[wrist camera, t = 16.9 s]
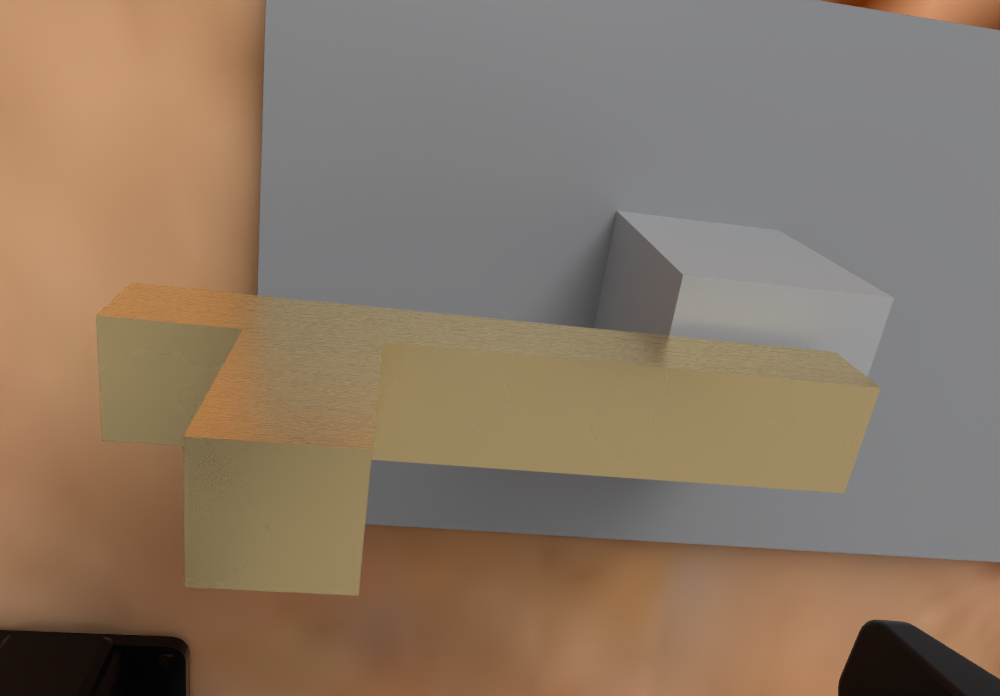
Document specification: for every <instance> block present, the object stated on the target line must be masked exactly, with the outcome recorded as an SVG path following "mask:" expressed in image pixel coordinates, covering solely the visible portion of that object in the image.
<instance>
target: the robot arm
mask: <svg viewBox="0 0 1000 696" xmlns="http://www.w3.org/2000/svg"><path fill="white" fill-rule="evenodd" d="M164 654H171V655H173V656H174V657H167V656H166V655H164ZM0 696H190V658H189V648H188V645H187V644H186V643H185V642H184V641H183V640H181V639H179V638H175V637H165V636H139V635H113V634H88V633H62V632H36V631H10V630H0ZM838 696H1000V679H999V678H997V677H995V676H994V675H992V674H991V673H989V672H987V671H986V670H984V669H983V668H981V667H979V666H978V665H976V664H975V663H973V662H971V661H970V660H968V659H966V658H965V657H963V656H962V655H960V654H958V653H957V652H955V651H954V650H952V649H950V648H949V647H947V646H946V645H944V644H942V643H941V642H939V641H938V640H936V639H934V638H933V637H931V636H930V635H928V634H926V633H925V632H923V631H922V630H920V629H918V628H917V627H915V626H913V625H911V624H909V623H906V622H900V621H888V620H871V621H868V622H867V623H866V624H865V625H864V626H862V628H861V630H860V631H859V634H858V636H857V639H856V641H855V643H854V646H853V648H852V650H851V653H850V655H849V658H848V660H847V662H846V665H845V667H844V669H843V672H842V674H841V677H840V680H839V686H838Z"/></svg>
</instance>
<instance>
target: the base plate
mask: <svg viewBox="0 0 1000 696" xmlns="http://www.w3.org/2000/svg"><path fill="white" fill-rule="evenodd" d="M258 295H260V296H270V297H280V298H290V299H300V300H311V301H321V302H331V303H341V304H351V305H362V306H372V307H382V308H392V309H402V310H412V311H423V312H433V313H443V314H453V315H463V316H473V317H484V318H494V319H504V320H514V321H524V322H535V323H545V324H555V325H565V326H575V327H585V328H596V329H606V330H616V331H626V332H636V333H647V334H657V335H667V336H677V337H687V338H697V339H708V340H718V341H728V342H738V343H748V344H759V345H769V346H779V347H789V348H799V349H809V350H820V351H830V352H836V353H838V354H839V355H840V356H841V357H843V358H844V359H845V360H846V361H848V362H849V363H850V364H851V365H853V366H854V367H855V368H857V369H858V370H859V371H860V372H862V373H863V374H864V375H865V376H867V377H868V378H869V379H870V380H872V381H873V382H874V383H875V384H877V385H878V386H879V387H880V388H881V389H880V391H879V394H878V397H877V400H876V403H875V406H874V409H873V412H872V415H871V417H870V420H869V423H868V426H867V429H866V432H865V435H864V438H863V441H862V443H861V446H860V449H859V452H858V455H857V458H856V461H855V464H854V467H853V469H852V472H851V475H850V478H849V481H848V484H847V487H846V490H845V493H831V492H817V491H803V490H789V489H775V488H761V487H747V486H733V485H719V484H705V483H691V482H677V481H663V480H649V479H635V478H621V477H607V476H593V475H579V474H565V473H551V472H537V471H523V470H509V469H495V468H481V467H467V466H453V465H439V464H425V463H411V462H397V461H382V460H372V465H371V475H370V485H369V495H368V505H367V515H366V524H369V525H386V526H403V527H419V528H436V529H453V530H469V531H486V532H503V533H519V534H536V535H553V536H569V537H586V538H603V539H619V540H636V541H653V542H670V543H686V544H703V545H720V546H736V547H753V548H770V549H786V550H803V551H820V552H836V553H853V554H870V555H886V556H903V557H920V558H936V559H953V560H970V561H987V562H1000V30H994V29H988V28H982V27H976V26H970V25H964V24H958V23H952V22H946V21H940V20H934V19H928V18H922V17H916V16H910V15H904V14H897V13H891V12H885V11H879V10H873V9H867V8H861V7H855V6H849V5H843V4H837V3H831V2H825V1H819V0H266V17H265V52H264V86H263V121H262V156H261V191H260V225H259V260H258Z"/></svg>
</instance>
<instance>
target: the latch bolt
mask: <svg viewBox="0 0 1000 696" xmlns="http://www.w3.org/2000/svg"><path fill="white" fill-rule="evenodd" d="M96 323H97V343H98V363H99V383H100V403H101V423H102V441H116V442H130V443H144V444H158V445H172V446H184V559H185V587H187V588H208V589H229V590H250V591H271V592H293V593H314V594H335V595H356V596H359V585H360V575H361V565H362V555H363V545H364V535H365V525H366V515H367V505H368V495H369V485H370V475H371V465H372V460H382V461H397V462H411V463H425V464H439V465H453V466H467V467H481V468H495V469H509V470H523V471H537V472H551V473H565V474H579V475H593V476H607V477H621V478H635V479H649V480H663V481H677V482H691V483H705V484H719V485H733V486H747V487H761V488H775V489H789V490H803V491H817V492H831V493H845V490H846V487H847V484H848V481H849V478H850V475H851V472H852V469H853V467H854V464H855V461H856V458H857V455H858V452H859V449H860V446H861V443H862V441H863V438H864V435H865V432H866V429H867V426H868V423H869V420H870V417H871V415H872V412H873V409H874V406H875V403H876V400H877V397H878V394H879V391H880V389H881V388H880V387H879V386H878V385H877V384H875V383H874V382H873V381H872V380H870V379H869V378H868V377H867V376H865V375H864V374H863V373H862V372H860V371H859V370H858V369H857V368H855V367H854V366H853V365H851V364H850V363H849V362H848V361H846V360H845V359H844V358H843V357H841V356H840V355H839V354H838V353H836V352H830V351H820V350H809V349H799V348H789V347H779V346H769V345H759V344H748V343H738V342H728V341H718V340H708V339H697V338H687V337H677V336H667V335H657V334H647V333H636V332H626V331H616V330H606V329H596V328H585V327H575V326H565V325H555V324H545V323H535V322H524V321H514V320H504V319H494V318H484V317H473V316H463V315H453V314H443V313H433V312H423V311H412V310H402V309H392V308H382V307H372V306H362V305H351V304H341V303H331V302H321V301H311V300H300V299H290V298H280V297H270V296H260V295H250V294H239V293H229V292H219V291H209V290H199V289H188V288H178V287H168V286H158V285H148V284H138V283H130V284H129V285H128V286H127V287H126V288H125V289H124V290H123V291H122V292H121V293H120V294H119V295H118V296H116V297H115V298H114V299H113V300H112V301H111V302H110V303H109V304H108V305H107V306H106V307H105V308H104V309H103V310H101V311H100V312H99V313H98V314H97V315H96Z"/></svg>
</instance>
